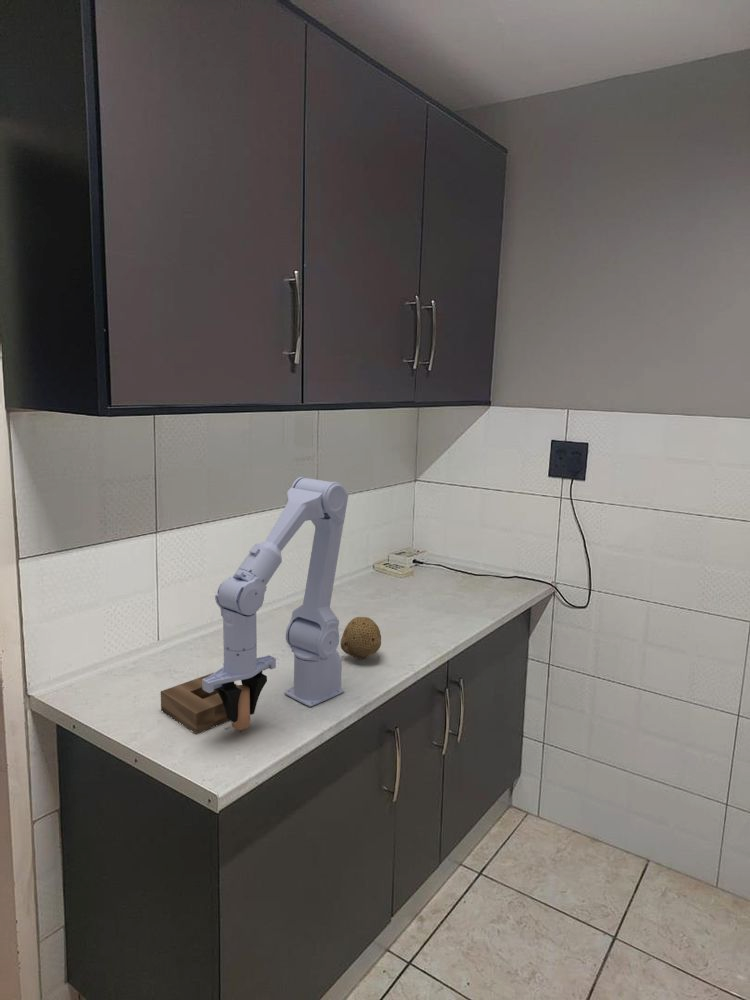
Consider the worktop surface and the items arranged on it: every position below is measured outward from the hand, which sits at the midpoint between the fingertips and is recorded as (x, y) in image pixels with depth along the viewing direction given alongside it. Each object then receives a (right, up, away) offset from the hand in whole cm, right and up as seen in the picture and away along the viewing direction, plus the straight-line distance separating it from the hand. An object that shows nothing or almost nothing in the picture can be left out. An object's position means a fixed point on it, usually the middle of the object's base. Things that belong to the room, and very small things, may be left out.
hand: (240, 716), depth 123 cm
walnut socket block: (-8, -2, +8) cm, 11 cm away
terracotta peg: (0, -2, 0) cm, 2 cm away
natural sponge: (+21, +2, +33) cm, 40 cm away
